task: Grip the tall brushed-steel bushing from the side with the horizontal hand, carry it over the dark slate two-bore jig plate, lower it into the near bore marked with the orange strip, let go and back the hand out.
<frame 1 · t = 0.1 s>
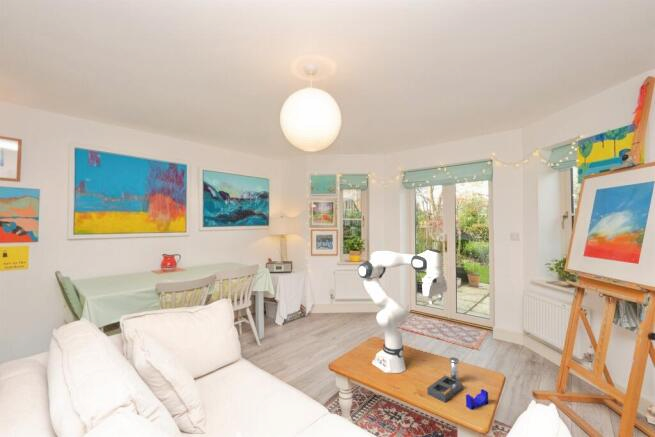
hand: (435, 302, 165), 48 cm above the table, tool pointing down, fingers open, 8 cm apart
cable clip: (476, 404, 148), on the table
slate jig: (445, 391, 160), on the table
steel bushing: (454, 381, 169), on the table
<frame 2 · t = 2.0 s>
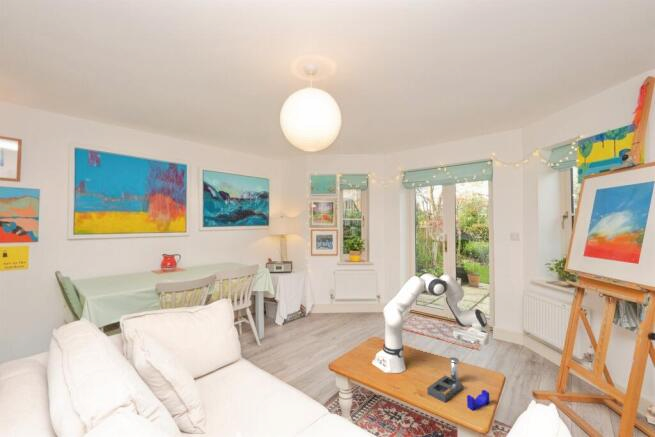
hand: (464, 340, 177), 20 cm above the table, tool horizontal, fingers open, 8 cm apart
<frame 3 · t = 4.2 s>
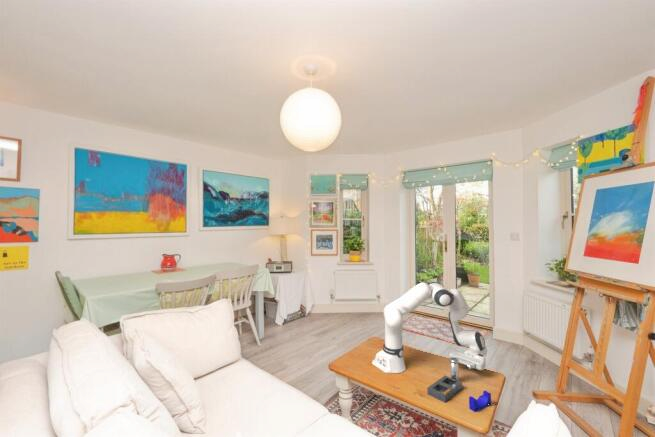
hand: (460, 364, 174), 7 cm above the table, tool horizontal, fingers open, 8 cm apart
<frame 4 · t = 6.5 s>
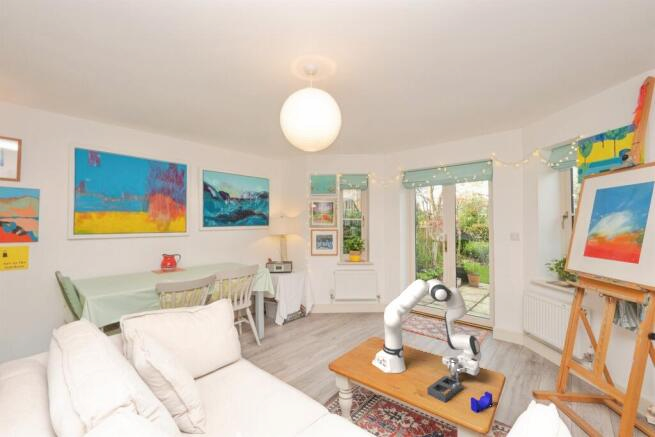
hand: (453, 369, 168), 8 cm above the table, tool horizontal, fingers closed on steel bushing, 4 cm apart
steel bushing: (454, 381, 169), on the table, touching gripper
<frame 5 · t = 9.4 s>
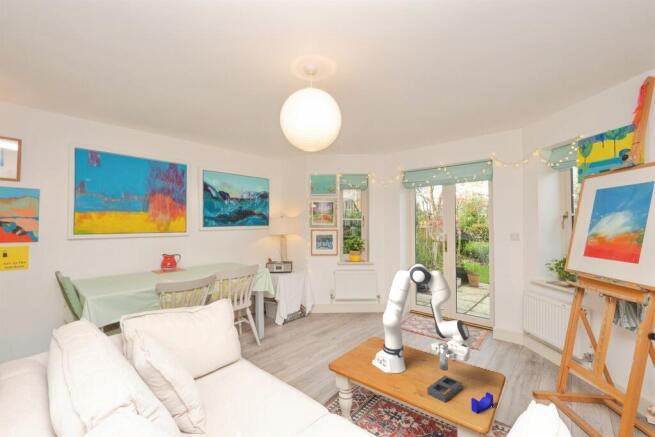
hand: (442, 355, 160), 20 cm above the table, tool horizontal, fingers closed on steel bushing, 4 cm apart
steel bushing: (443, 368, 161), point 12 cm above the table, touching gripper
when the fingers open (9 cm above the table, at t = 12.6 s): steel bushing drops 1 cm, resting in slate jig.
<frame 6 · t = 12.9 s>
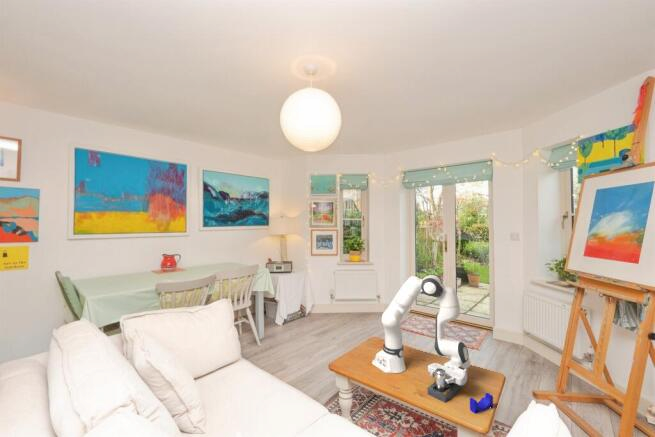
hand: (439, 378, 156), 9 cm above the table, tool horizontal, fingers open, 7 cm apart
steel bushing: (440, 394, 157), resting in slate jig
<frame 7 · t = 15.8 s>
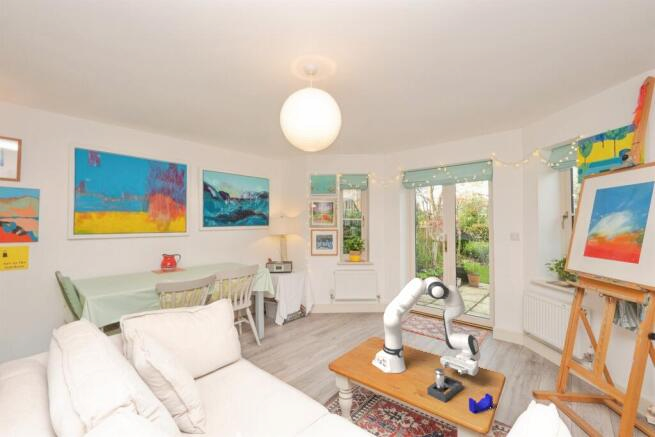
hand: (451, 369, 165), 9 cm above the table, tool horizontal, fingers open, 8 cm apart
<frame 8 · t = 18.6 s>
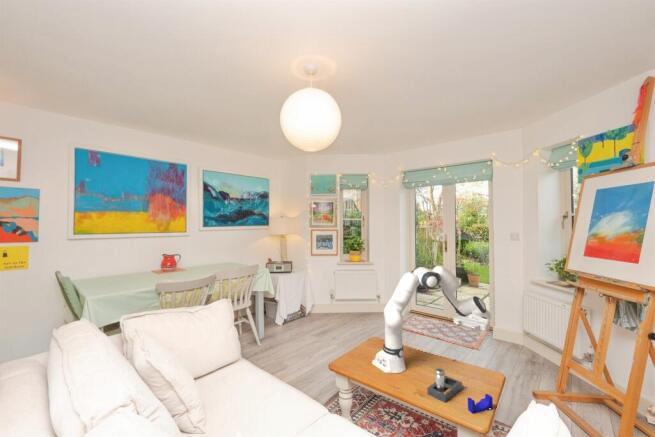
hand: (465, 326, 175), 30 cm above the table, tool horizontal, fingers open, 8 cm apart
at the end: steel bushing 0.0 cm from the target spot on the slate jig, point 0.0 cm above the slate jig's base; steel bushing tilted 0°; the gripper is holding nothing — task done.
